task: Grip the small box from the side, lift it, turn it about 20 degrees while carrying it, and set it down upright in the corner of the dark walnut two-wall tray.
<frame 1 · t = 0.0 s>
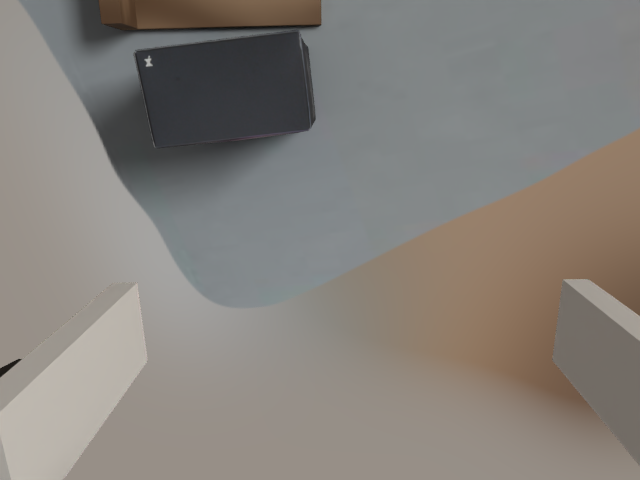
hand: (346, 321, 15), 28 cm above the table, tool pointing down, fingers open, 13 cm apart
small box: (250, 92, 40), on the table
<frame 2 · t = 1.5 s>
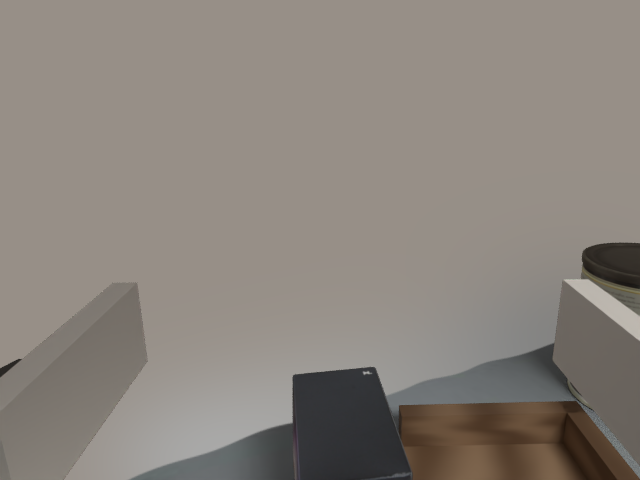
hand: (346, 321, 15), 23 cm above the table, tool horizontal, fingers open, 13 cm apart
coffee can: (623, 395, 48), on the table
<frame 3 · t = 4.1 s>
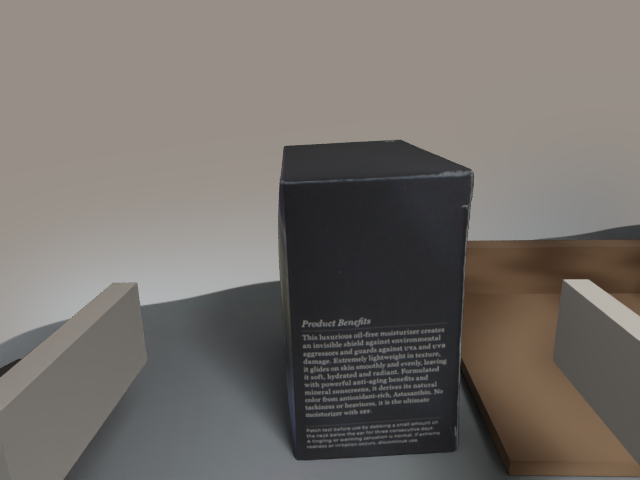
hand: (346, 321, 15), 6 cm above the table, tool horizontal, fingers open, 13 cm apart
small box: (356, 382, 23), on the table
corner tray: (608, 356, 24), on the table
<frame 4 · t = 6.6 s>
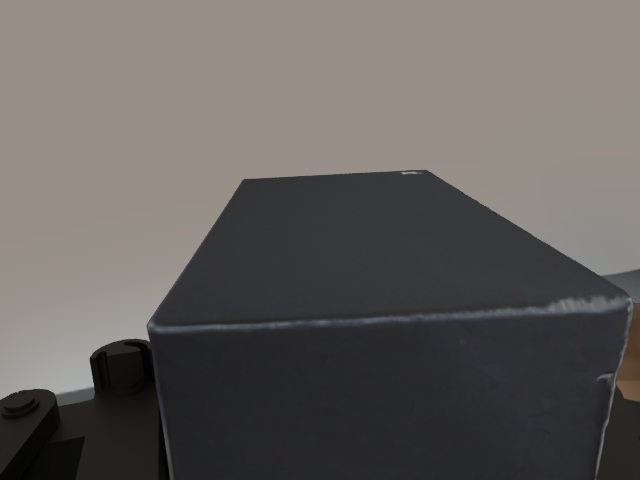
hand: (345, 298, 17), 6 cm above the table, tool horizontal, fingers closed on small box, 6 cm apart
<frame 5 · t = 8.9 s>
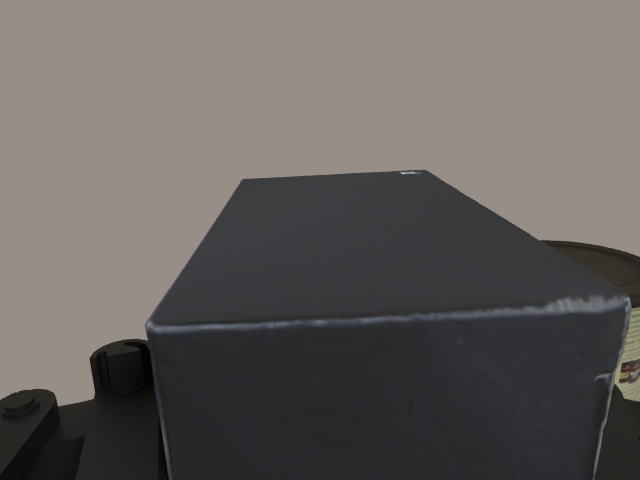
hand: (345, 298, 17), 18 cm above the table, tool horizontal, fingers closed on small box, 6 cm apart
coffee can: (545, 447, 36), on the table
when the fingers open (9 cm above the table, at t = 11.3 s): small box drops 2 cm, resting on corner tray.
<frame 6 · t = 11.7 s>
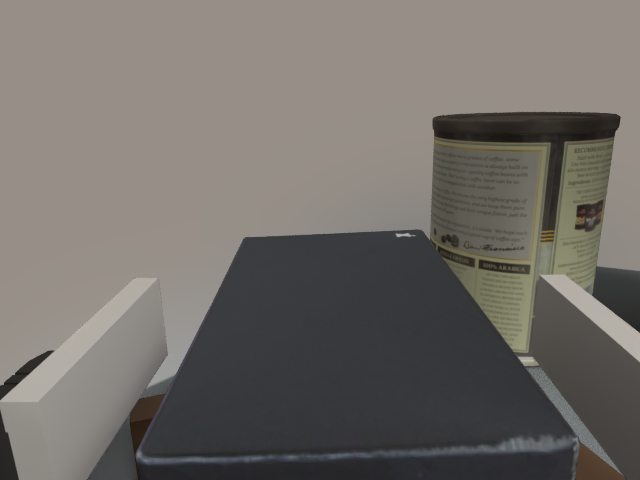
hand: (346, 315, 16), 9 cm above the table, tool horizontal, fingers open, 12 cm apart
coffee can: (500, 331, 33), on the table
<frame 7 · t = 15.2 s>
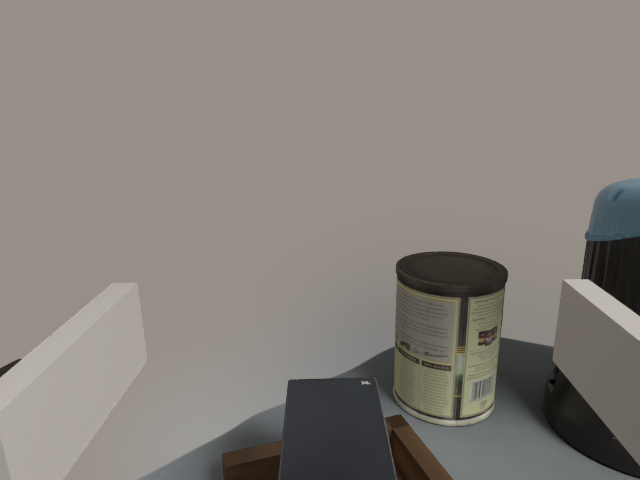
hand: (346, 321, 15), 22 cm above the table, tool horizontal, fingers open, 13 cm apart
coffee can: (441, 397, 50), on the table
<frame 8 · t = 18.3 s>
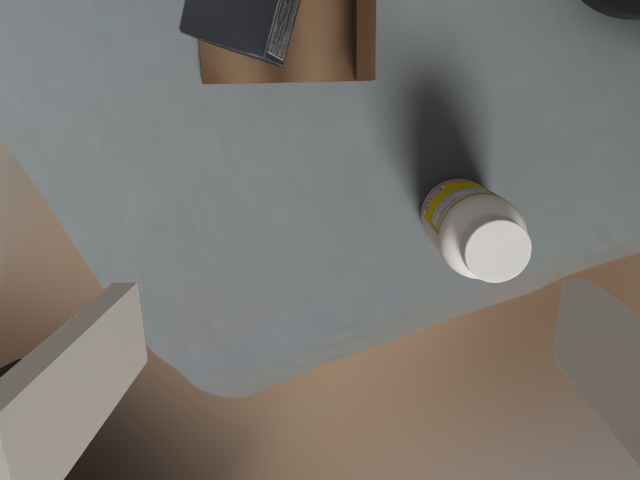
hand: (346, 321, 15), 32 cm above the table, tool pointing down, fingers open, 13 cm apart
supplement bottle: (454, 210, 47), on the table
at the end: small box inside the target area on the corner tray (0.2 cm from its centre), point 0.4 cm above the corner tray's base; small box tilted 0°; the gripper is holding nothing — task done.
